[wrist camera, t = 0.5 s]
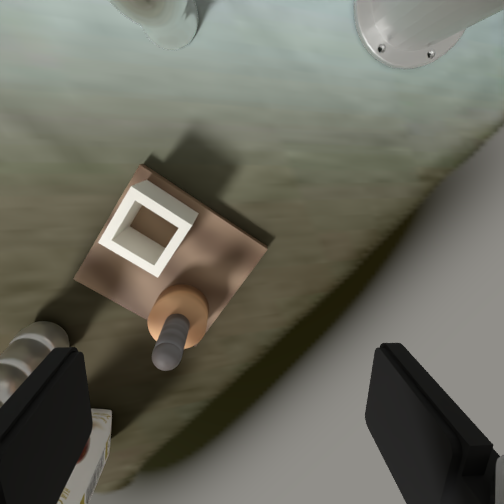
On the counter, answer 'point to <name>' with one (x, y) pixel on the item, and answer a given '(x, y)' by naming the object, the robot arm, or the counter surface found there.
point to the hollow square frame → (136, 244)
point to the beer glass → (162, 20)
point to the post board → (175, 272)
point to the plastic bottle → (28, 354)
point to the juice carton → (89, 461)
